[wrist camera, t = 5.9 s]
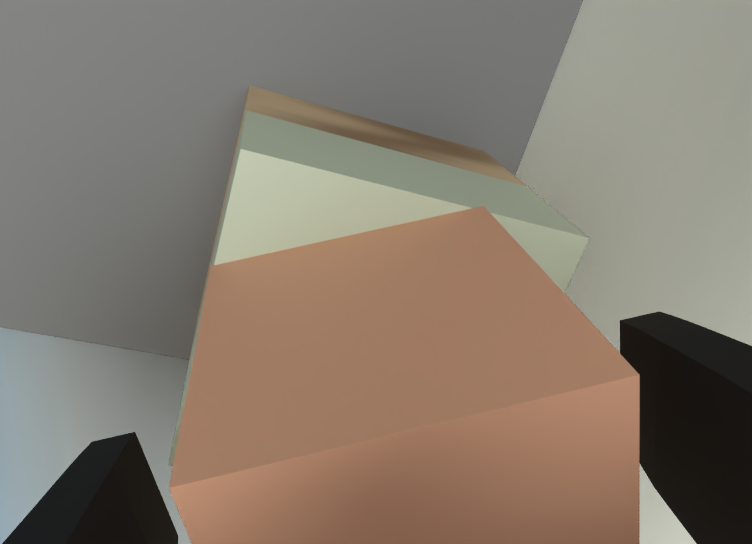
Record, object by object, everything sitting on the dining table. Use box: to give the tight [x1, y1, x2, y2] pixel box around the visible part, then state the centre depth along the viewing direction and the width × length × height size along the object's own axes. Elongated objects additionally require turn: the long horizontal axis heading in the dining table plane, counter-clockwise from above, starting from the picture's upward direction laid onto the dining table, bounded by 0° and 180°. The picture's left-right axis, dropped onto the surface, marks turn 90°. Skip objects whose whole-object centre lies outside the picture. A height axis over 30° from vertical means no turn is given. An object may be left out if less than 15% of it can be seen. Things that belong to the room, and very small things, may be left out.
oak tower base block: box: [187, 86, 526, 369], centre depth 16 cm, size 6×6×3 cm
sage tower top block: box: [169, 110, 589, 466], centre depth 13 cm, size 6×6×3 cm
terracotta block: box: [169, 206, 640, 544], centre depth 9 cm, size 4×4×5 cm
